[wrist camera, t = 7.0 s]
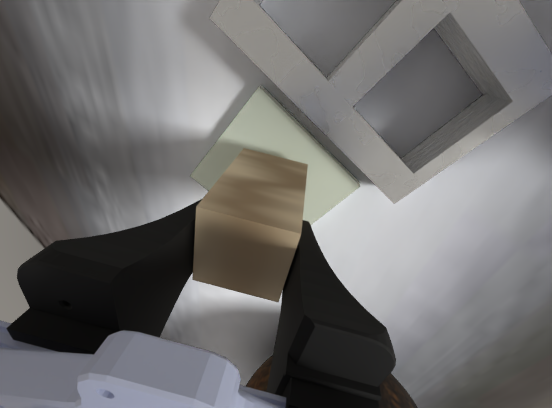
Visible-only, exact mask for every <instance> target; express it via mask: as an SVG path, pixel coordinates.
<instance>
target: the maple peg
mask: <svg viewBox="0 0 552 408" xmlns="http://www.w3.org/2000/svg"><path fill="white" fill-rule="evenodd" d="M307 168H308V164H305V163H301V162H297V161H293V160H289V159H285V158H281V157H277V156H273V155H270V154H266V153H262V152H258V151H254V150H250V149H246V148H243V150H242V151H241V152H240V153H239V155H238V156H237V157H236V158H235V159H234V161H233V162H232V163H231V164H230V166H229V167H228V168H227V169H226V171H225V172H224V173H223V174H222V176H221V177H220V178H219V179H218V180H217V182H216V183H215V184H214V185H213V187H212V188H211V189H210V190H209V192H208V193H207V194H206V195H205V197H204V198H203V199H202V200H201V201H200V203H199V204H198V205H197V206H196V221H195V241H194V261H193V280H196V281H199V282H203V283H207V284H211V285H215V286H218V287H222V288H226V289H230V290H234V291H237V292H241V293H245V294H249V295H252V296H256V297H260V298H264V299H268V300H271V301H275V302H279V299H280V296H281V293H282V290H283V287H284V284H285V281H286V278H287V275H288V272H289V269H290V266H291V263H292V260H293V257H294V254H295V251H296V248H297V245H298V242H299V239H300V236H301V231H302V221H303V210H304V200H305V189H306V178H307Z"/></svg>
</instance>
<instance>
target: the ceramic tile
mask: <svg viewBox="0 0 552 408" xmlns="http://www.w3.org/2000/svg"><path fill="white" fill-rule="evenodd" d="M243 148H246V149H250V150H254V151H258V152H262V153H266V154H270V155H273V156H277V157H281V158H285V159H289V160H293V161H297V162H301V163H305V164H308V168H307V178H306V189H305V200H304V210H303V220H305V221H309V223H310V225H312V224H313V223H314V222H315V221H317V220H318V219H319V218H321V217H322V216H323V215H324V214H326V213H327V212H328V211H330V210H331V209H332V208H333V207H335V206H336V205H337V204H339V203H340V202H341V201H342V200H344V199H345V198H346V197H347V196H349V195H350V194H351V193H353V192H354V191H355V190H356V189H358V188H359V187H360V183H359V181H358V180H357V179H356V178H355V177H354V176H353V175H352V174H351V173H350V172H349V171H348V170H347V169H346V168H345V167H344V166H343V165H342V164H341V163H340V162H339V161H338V160H337V159H336V158H335V157H334V156H333V155H332V154H331V153H330V152H329V151H328V150H326V149H325V148H324V147H323V146H322V145H321V144H320V143H319V142H318V141H317V140H316V139H315V138H314V137H313V136H312V135H311V134H310V133H309V132H308V131H307V130H306V129H305V128H304V127H303V126H302V125H301V124H300V123H299V122H298V121H297V120H296V119H295V118H294V117H293V116H292V115H291V114H290V113H289V112H288V111H287V110H286V109H285V108H284V107H283V106H282V105H281V104H280V103H279V102H278V101H277V100H276V99H275V98H274V97H273V96H272V95H271V94H270V93H269V92H268V91H267V90H266V89H265V88H264V87H263V86H262V85H261V86H259V87H258V89H257V90H256V91H255V92H254V94H253V95H252V96H251V98H250V99H249V100H248V101H247V103H246V104H245V105H244V107H243V108H242V109H241V111H240V112H239V113H238V114H237V116H236V117H235V118H234V120H233V121H232V122H231V123H230V125H229V126H228V127H227V129H226V130H225V131H224V132H223V134H222V135H221V136H220V138H219V139H218V140H217V142H216V143H215V144H214V145H213V147H212V148H211V149H210V151H209V152H208V153H207V154H206V156H205V157H204V158H203V160H202V161H201V162H200V163H199V165H198V166H197V167H196V169H195V170H194V171H193V173H192V174H191V175H190V177H192V178H193V179H194V180H195V181H197V182H198V183H199V184H200V185H202V186H203V187H204V188H205V189H207V190H208V191H209V190H210V189H211V188H212V187H213V185H214V184H215V183H216V182H217V180H218V179H219V178H220V177H221V176H222V174H223V173H224V172H225V171H226V169H227V168H228V167H229V166H230V164H231V163H232V162H233V161H234V159H235V158H236V157H237V156H238V155H239V153H240V152H241V151H242V150H243Z"/></svg>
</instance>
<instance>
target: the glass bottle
mask: <svg viewBox="0 0 552 408" xmlns="http://www.w3.org/2000/svg"><path fill="white" fill-rule="evenodd" d="M272 359H273V356H271V357H270V358H269V359H268V360H266V361H265V362H264V363H263V364H262V365H261V367H260V368H259V369H258V370H257V371H256V372H255V373H254V375H253V376H252V377H251V379H250V380H249V382H248V383H247V385H246V387H249V388H253V389H257V390H260V391H264V392H266V390H267V385H268V380H269V375H270V369H271V364H272ZM379 386H380V392H381V400H380V401H378V404H379V408H417V406H416V404H415V403H414V401H413V400H412V398H411V397H410V395H409V394H408V392H407V391H406V390H405V389H404V387H403V386H402V385H401V384H400V383H399V382H398V380H397V379H396V378H395V377H394V376H393V375H392V374H391V373H390V374H389V375H388V376H387V377H386V378H385V379H384V381H383V382H382V383H381V384H380V385H379Z"/></svg>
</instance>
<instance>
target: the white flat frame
mask: <svg viewBox="0 0 552 408" xmlns="http://www.w3.org/2000/svg"><path fill="white" fill-rule="evenodd" d="M261 2H262V0H220V1H219V2H218V4H217V6H216V8H215V9H214V11H213V13H212V15H211V16H210V19H211V20H212V21H213V22H214V23H215V24H216V25H217V26H218V27H219V28H220V29H221V30H222V31H223V32H224V33H225V34H226V35H227V36H228V37H229V38H230V39H231V40H232V41H233V42H234V43H235V45H236V46H237V47H238V48H239V49H240V50H241V51H242V52H243V53H244V54H245V55H246V56H247V57H248V58H249V59H250V60H251V61H252V62H253V63H254V64H255V65H256V66H257V67H258V68H259V69H260V70H261V71H262V72H263V73H264V74H265V75H266V76H267V77H268V78H269V79H270V80H271V81H272V82H273V83H274V84H275V85H276V86H277V87H278V88H279V89H280V90H281V91H282V92H283V93H284V94H285V95H286V96H287V97H288V98H289V99H290V100H291V101H292V102H293V103H294V104H295V105H296V106H297V107H298V108H299V109H300V110H301V111H302V112H303V113H304V114H305V115H306V116H307V117H308V118H309V119H310V120H311V121H312V122H313V123H314V124H315V125H316V126H317V127H318V128H319V129H320V130H321V131H322V132H323V133H324V134H325V135H326V136H327V137H328V138H329V139H330V140H331V141H332V142H333V143H334V144H335V145H336V146H337V147H338V148H339V149H340V150H341V151H342V152H343V153H344V154H345V155H346V156H347V157H348V158H349V159H350V160H351V161H352V162H353V163H354V164H355V165H356V166H357V167H358V168H359V169H360V170H361V171H362V172H363V173H364V174H365V175H366V176H367V177H368V178H369V179H370V180H371V181H372V182H373V183H374V184H375V185H376V186H377V187H378V188H379V189H380V190H381V191H382V192H383V193H384V194H385V195H386V196H387V197H388V198H389V199H390V200H391V201H392V202H393V203H394V204H395V203H396V202H398V201H399V200H401V199H402V198H404V197H405V196H406V195H408V194H409V193H411V192H412V191H414V190H415V189H417V188H418V187H419V186H421V185H422V184H424V183H425V182H427V181H428V180H430V179H431V178H433V177H434V176H435V175H437V174H438V173H440V172H441V171H443V170H444V169H446V168H447V167H448V166H450V165H451V164H453V163H454V162H456V161H457V160H459V159H460V158H461V157H463V156H464V155H466V154H467V153H469V152H470V151H472V150H473V149H475V148H476V147H477V146H479V145H480V144H482V143H483V142H485V141H486V140H488V139H489V138H490V137H492V136H493V135H495V134H496V133H498V132H499V131H501V130H502V129H503V128H505V127H506V126H508V125H509V124H511V123H512V122H514V121H515V120H516V119H518V118H519V117H521V116H522V115H524V114H525V113H527V112H528V111H530V110H531V109H532V108H534V107H535V106H537V105H538V104H540V103H541V102H543V101H544V100H545V99H547V98H548V97H550V96H551V95H552V53H551V51H550V50H549V48H548V47H547V45H546V43H545V42H544V40H543V38H542V37H541V35H540V34H539V32H538V30H537V29H536V27H535V25H534V24H533V22H532V21H531V19H530V17H529V16H528V14H527V13H526V11H525V9H524V8H523V6H522V4H521V3H520V1H519V0H397V1H396V2H395V3H394V4H393V5H392V6H391V7H390V9H389V10H388V11H387V12H386V13H385V14H384V15H383V16H382V17H381V19H380V20H379V21H378V22H377V23H376V24H375V25H374V26H373V27H372V28H371V30H370V31H369V32H368V33H367V34H366V35H365V36H364V37H363V38H362V39H361V41H360V42H359V43H358V44H357V45H356V46H355V47H354V48H353V49H352V51H351V52H350V53H349V54H348V55H347V56H346V57H345V58H344V59H343V60H342V62H341V63H340V64H339V65H338V66H337V67H336V68H335V69H334V70H333V71H332V73H331V74H330V75H329V76H328V77H327V78H326V77H325V76H324V75H323V74H322V73H321V72H320V70H319V69H318V68H317V67H316V66H315V65H314V64H313V63H312V62H311V61H310V60H309V59H308V57H307V56H306V55H305V54H304V53H303V52H302V51H301V50H300V49H299V48H298V47H297V46H296V44H295V43H294V42H293V41H292V40H291V39H290V38H289V37H288V36H287V35H286V34H285V33H284V31H283V30H282V29H281V28H280V27H279V26H278V25H277V24H276V23H275V22H274V21H273V20H272V18H271V17H270V16H269V15H268V14H267V13H266V12H265V11H264V10H263V9H262V8H261V7H260V3H261ZM433 28H434V29H435V30H436V32H437V33H438V34H439V36H440V37H441V38H442V40H443V41H444V43H445V44H446V45H447V47H448V48H449V49H450V51H451V52H452V53H453V55H454V56H455V57H456V59H457V60H458V61H459V63H460V64H461V66H462V67H463V68H464V70H465V71H466V72H467V74H468V75H469V76H470V78H471V79H472V80H473V82H474V83H475V84H476V86H477V87H478V89H479V90H480V91H481V93H482V94H483V96H481V97H480V98H479V99H478V100H476V101H475V102H474V103H472V104H471V105H470V106H468V107H467V108H466V109H465V110H463V111H462V112H461V113H459V114H458V115H457V116H456V117H454V118H453V119H452V120H450V121H449V122H448V123H446V124H445V125H444V126H443V127H441V128H440V129H439V130H437V131H436V132H435V133H434V134H432V135H431V136H430V137H428V138H427V139H426V140H424V141H423V142H422V143H421V144H419V145H418V146H417V147H415V148H414V149H413V150H412V151H410V152H409V153H408V154H406V155H405V156H404V157H402V158H400V157H399V156H398V155H397V154H396V153H395V152H394V151H393V150H392V149H391V147H390V146H389V145H388V144H387V143H386V142H385V141H384V140H383V139H382V138H381V137H380V136H379V134H378V133H377V132H376V131H375V130H374V129H373V128H372V127H371V126H370V125H369V124H368V123H367V121H366V120H365V119H364V118H363V117H362V116H361V115H360V114H359V113H358V112H357V111H356V110H355V108H354V107H353V106H354V105H355V104H356V103H357V102H358V101H359V100H360V99H361V98H362V97H363V96H364V95H365V94H366V93H367V92H368V91H369V90H370V89H372V88H373V87H374V86H375V85H376V84H377V83H378V82H379V81H380V80H381V79H382V78H383V77H384V76H385V75H386V74H387V73H388V72H389V71H390V70H391V69H392V68H393V67H394V66H395V65H396V64H397V63H398V62H399V61H400V60H401V59H402V58H403V57H404V56H405V55H406V54H407V53H408V52H410V51H411V50H412V49H413V48H414V47H415V46H416V45H417V44H418V43H419V42H420V41H421V40H422V39H423V38H424V37H425V36H426V35H427V34H428V33H429V32H430V31H431V30H432V29H433Z"/></svg>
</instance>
